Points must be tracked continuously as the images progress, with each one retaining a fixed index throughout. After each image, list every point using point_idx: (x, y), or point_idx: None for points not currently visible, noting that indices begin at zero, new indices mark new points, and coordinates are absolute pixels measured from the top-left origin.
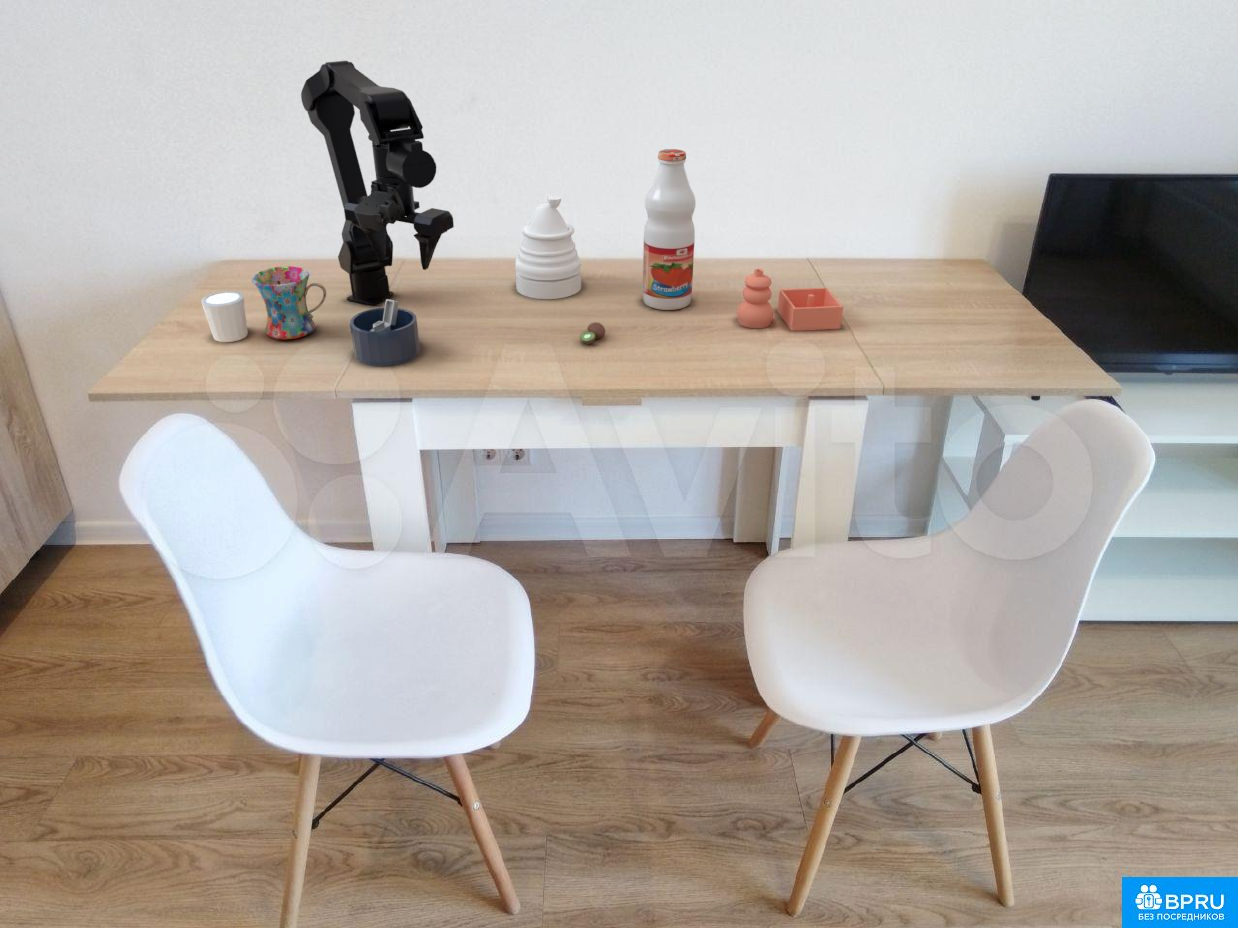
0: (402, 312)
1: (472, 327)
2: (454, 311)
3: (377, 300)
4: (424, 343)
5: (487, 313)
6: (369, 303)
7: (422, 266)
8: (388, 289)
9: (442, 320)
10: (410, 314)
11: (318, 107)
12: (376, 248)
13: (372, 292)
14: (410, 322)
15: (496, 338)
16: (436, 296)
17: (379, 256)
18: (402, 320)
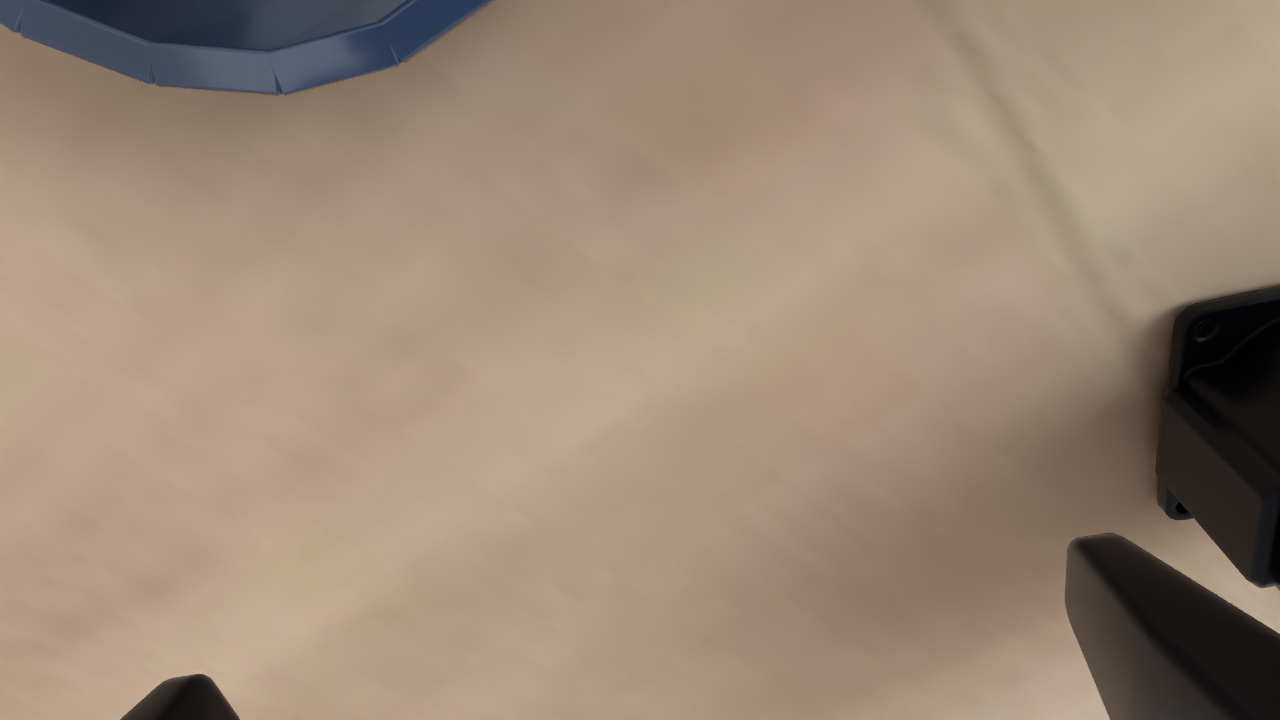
0: (307, 35)
1: (310, 474)
2: (615, 559)
3: (1193, 369)
4: None
5: (436, 639)
6: (1226, 303)
7: (155, 715)
8: (1184, 498)
9: (556, 435)
10: (128, 29)
11: None
12: (1266, 716)
13: (1271, 392)
14: (217, 21)
15: (42, 454)
16: (888, 630)
17: (1122, 587)
18: (354, 15)
